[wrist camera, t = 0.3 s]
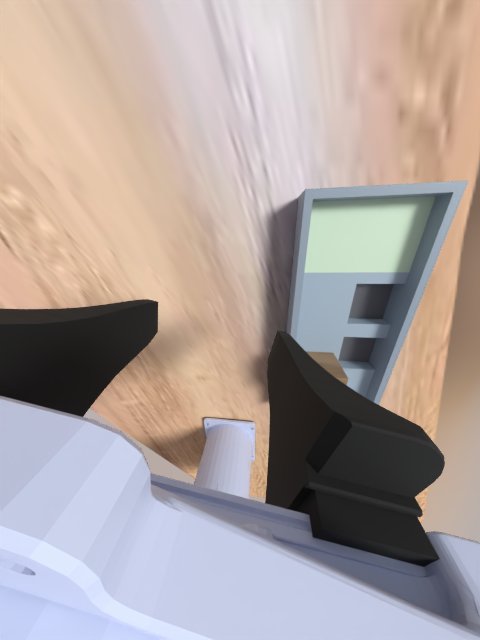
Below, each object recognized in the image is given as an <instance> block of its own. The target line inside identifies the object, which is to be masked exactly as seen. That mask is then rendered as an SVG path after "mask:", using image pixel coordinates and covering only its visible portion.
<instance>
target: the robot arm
mask: <svg viewBox="0 0 480 640" xmlns="http://www.w3.org/2000/svg"><path fill="white" fill-rule="evenodd" d="M157 332H158V302H156V301H152V300H134V301H127V302H120V303H113V304H106V305H98V306H90V307H80V308H66V309H0V640H480V543H479V542H476V541H473V540H469V539H465V538H461V537H458V536H454V535H450V534H446V533H442V532H426V533H425V531H424V529H423V527H422V525H421V523H420V522H419V520H418V518H417V517H421V516H422V515H423V514H422V510H421V508H420V506H419V504H418V503H417V501H416V499H415V498H414V497H415V496H416V495H418V494H419V493H420V492H422V491H423V490H424V489H425V488H427V487H428V486H429V485H431V484H432V483H433V482H434V481H435V480H436V479H437V478H438V477H439V476H440V475H441V473H442V471H443V468H444V464H445V462H444V456H443V454H442V453H441V451H440V450H439V449H438V447H437V446H436V445H435V444H434V442H433V441H432V440H431V439H430V438H429V436H428V435H427V434H426V433H425V431H424V430H423V429H422V428H421V427H420V426H418V425H416V424H414V423H412V422H410V421H408V420H406V419H405V418H403V417H401V416H399V415H397V414H395V413H393V412H391V411H389V410H387V409H385V408H383V407H381V406H379V405H378V404H376V403H374V402H372V401H371V400H369V399H367V398H365V397H364V396H362V395H361V394H359V393H357V392H356V391H354V390H353V389H351V388H350V387H348V386H347V385H345V384H344V383H342V382H341V381H339V380H338V379H337V378H335V377H334V376H333V375H331V374H330V373H329V372H328V371H326V370H325V369H324V368H323V367H322V366H320V365H319V364H318V363H317V362H316V361H315V360H314V359H313V358H312V357H311V356H310V355H309V354H308V353H307V352H306V351H305V350H304V349H303V348H302V347H301V346H300V345H299V344H298V343H297V342H296V341H295V340H294V339H293V337H292V336H291V335H289V334H288V333H285V332H281V331H277V334H276V337H275V340H274V343H273V346H272V349H271V352H270V355H269V358H268V368H267V378H268V392H269V404H270V435H269V457H268V474H267V489H266V502H265V503H262V502H258V501H254V500H251V499H249V489H250V472H251V461H254V460H255V423H254V422H248V421H237V420H226V419H216V418H205V419H204V427H205V433H206V443H205V447H204V450H203V454H202V457H201V461H200V464H199V468H198V472H197V475H196V479H195V482H194V485H193V484H190V483H186V482H182V481H178V480H175V479H171V478H167V477H163V476H159V475H156V474H152V473H150V469H149V466H148V463H147V461H146V459H145V456H144V454H143V452H142V449H141V448H140V447H139V446H138V445H136V444H135V443H134V442H133V441H132V440H131V439H129V438H128V437H127V436H126V435H125V434H123V433H122V432H121V431H119V430H116V429H114V428H112V427H109V426H107V425H104V424H102V423H100V422H98V421H95V420H92V419H88V418H84V417H83V416H84V414H85V413H86V412H87V410H88V409H89V408H90V407H91V405H92V404H93V403H94V402H95V400H96V399H97V398H98V396H99V395H100V394H101V393H102V391H103V390H104V389H105V388H106V387H107V386H108V384H109V383H110V382H111V381H112V380H113V378H114V377H115V376H116V375H117V374H118V373H119V372H120V371H121V370H122V369H123V368H124V367H125V366H126V365H127V364H128V363H129V362H130V361H131V360H133V359H134V358H135V357H136V356H137V355H138V354H139V353H140V352H141V351H142V350H143V349H144V348H145V347H146V346H147V345H148V344H149V343H150V341H151V340H152V339H153V337H154V336H155V335H156V333H157Z"/></svg>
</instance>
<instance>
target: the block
mask: <svg viewBox="0 0 480 640" xmlns="http://www.w3.org/2000/svg"><path fill="white" fill-rule="evenodd" d="M306 352H307V353H308V354H309V355H310V356H311V357H312V358H313V359H314V360H315V361H316V362H317V363H318V364H319V365H320V366H322V367H323V368H324V369H325V370H326V371H328V372H329V373H330V374H331V375H333V376H334V377H335V378H337V379H338V380H339V381H341V382H342V383H344V384H345V385H347V382H348V377H347V375H346V374H345V372H344V370H343V369H342V367H341V365H340V363H339V362H338V360H337V358H336V357H335V355H334V353H330V352H309V351H306Z"/></svg>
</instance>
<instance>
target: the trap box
mask: <svg viewBox="0 0 480 640" xmlns="http://www.w3.org/2000/svg"><path fill="white" fill-rule="evenodd" d="M467 183H468V181H451V182H432V183H413V184H395V185H376V186H358V187H339V188H321V189H305V190H304V192H303V193H302V194H301V195H300V196H299V197H298V208H297V219H296V230H295V241H294V252H293V263H292V274H291V285H290V296H289V307H288V318H287V329H286V333H288V334H289V335H291V336H292V337H293V339H294V340H295V341H296V342H297V343H298V344H299V345H300V346H301V347H302V348H303V349H304V350H305V351H309V352H330V353H334V355H335V357H336V358H337V360H338V362H339V363H340V365H341V367H342V369H343V370H344V372H345V374H346V375H347V377H348V382H347V386H348V387H350V388H351V389H353V390H354V391H356V392H357V393H359V394H361V395H362V396H364V397H365V398H367V399H369V400H371V401H372V402H374V403H376V404H378V405H379V403H380V400H381V398H382V395H383V393H384V390H385V388H386V385H387V383H388V380H389V378H390V375H391V373H392V370H393V368H394V365H395V363H396V360H397V358H398V355H399V353H400V350H401V348H402V345H403V343H404V340H405V338H406V335H407V333H408V330H409V328H410V325H411V323H412V320H413V318H414V315H415V313H416V310H417V308H418V305H419V303H420V300H421V298H422V295H423V293H424V290H425V288H426V285H427V283H428V280H429V278H430V275H431V273H432V270H433V268H434V265H435V263H436V260H437V258H438V255H439V253H440V250H441V248H442V245H443V243H444V240H445V238H446V235H447V233H448V230H449V228H450V225H451V223H452V220H453V218H454V215H455V213H456V210H457V208H458V205H459V203H460V200H461V198H462V195H463V193H464V190H465V188H466V185H467Z"/></svg>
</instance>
